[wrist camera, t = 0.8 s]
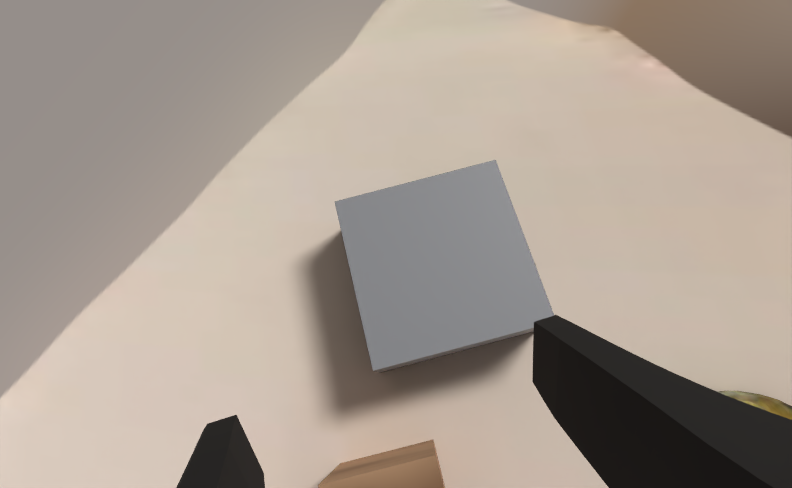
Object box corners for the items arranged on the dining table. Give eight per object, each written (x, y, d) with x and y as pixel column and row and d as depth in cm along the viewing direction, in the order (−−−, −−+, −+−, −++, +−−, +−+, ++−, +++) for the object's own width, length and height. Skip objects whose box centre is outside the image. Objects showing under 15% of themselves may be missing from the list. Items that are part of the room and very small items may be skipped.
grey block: (535, 331, 24) (556, 321, 20) (381, 372, 24) (372, 370, 20) (485, 191, 27) (495, 159, 23) (347, 227, 26) (334, 201, 23)
